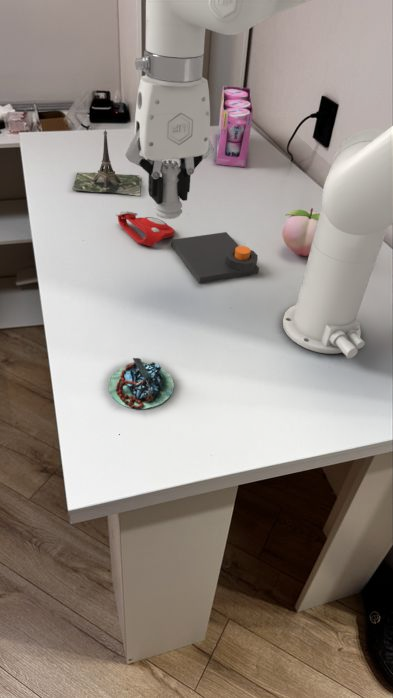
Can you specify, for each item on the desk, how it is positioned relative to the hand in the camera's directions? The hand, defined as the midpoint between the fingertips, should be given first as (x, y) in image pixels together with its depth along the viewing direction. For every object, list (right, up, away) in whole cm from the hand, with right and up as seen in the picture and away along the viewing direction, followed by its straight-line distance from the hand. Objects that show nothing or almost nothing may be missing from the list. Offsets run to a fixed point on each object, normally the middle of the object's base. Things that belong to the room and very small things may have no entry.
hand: (168, 197), depth 81 cm
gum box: (+14, +31, +65) cm, 73 cm away
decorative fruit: (+25, -5, +24) cm, 35 cm away
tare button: (+13, -6, +16) cm, 22 cm away
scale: (+7, -6, +20) cm, 22 cm away
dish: (-4, -29, -7) cm, 30 cm away
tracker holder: (-6, 0, +26) cm, 26 cm away
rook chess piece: (0, -2, +2) cm, 3 cm away
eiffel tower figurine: (-16, +15, +42) cm, 47 cm away
